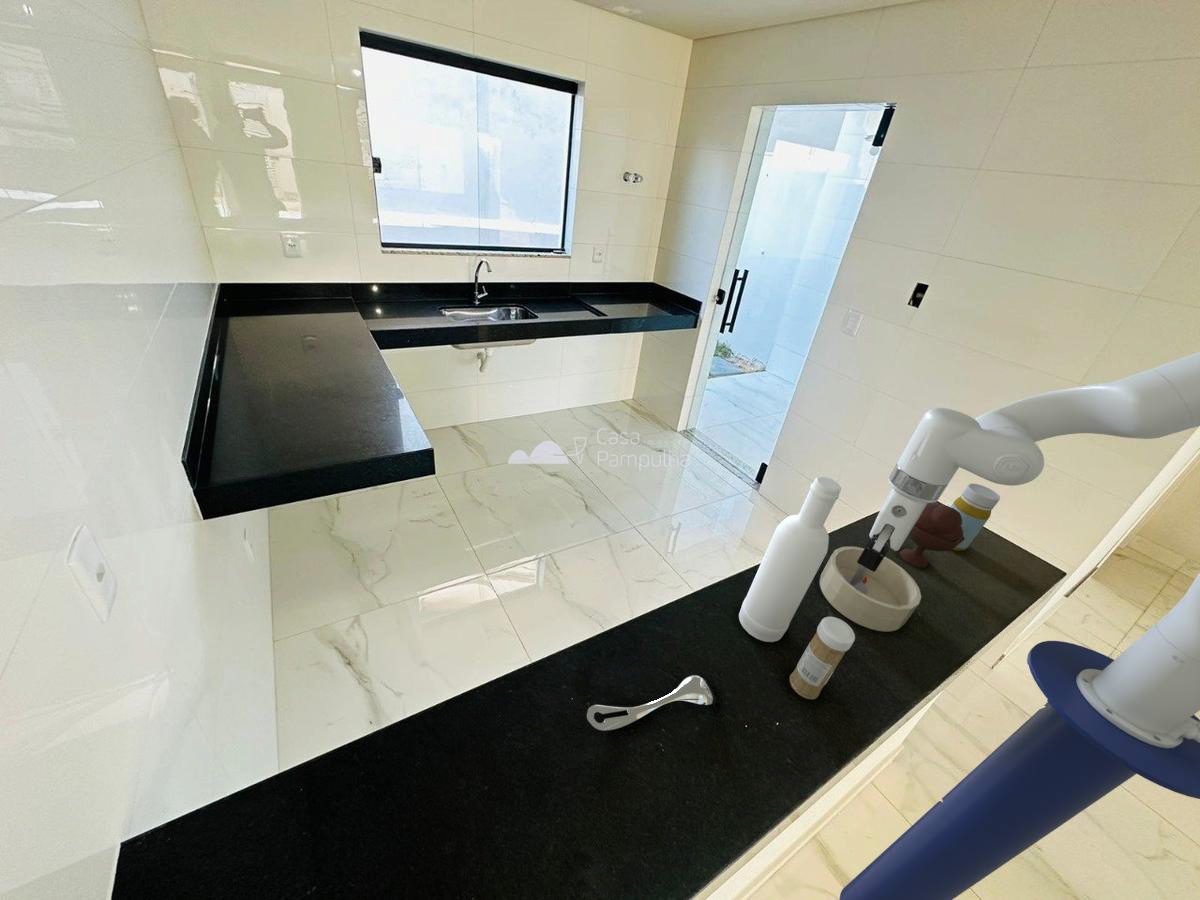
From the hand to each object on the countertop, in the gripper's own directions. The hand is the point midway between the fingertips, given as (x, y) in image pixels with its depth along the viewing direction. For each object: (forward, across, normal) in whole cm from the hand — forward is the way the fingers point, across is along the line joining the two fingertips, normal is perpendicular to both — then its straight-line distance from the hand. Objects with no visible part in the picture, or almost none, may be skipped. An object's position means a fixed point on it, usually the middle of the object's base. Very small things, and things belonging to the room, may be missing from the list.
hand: (867, 563), depth 85 cm
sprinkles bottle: (+9, -26, -1) cm, 27 cm away
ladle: (+8, 0, 0) cm, 8 cm away
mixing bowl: (+9, +2, -2) cm, 9 cm away
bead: (+7, +5, 0) cm, 9 cm away
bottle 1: (+9, -20, +9) cm, 24 cm away
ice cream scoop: (+9, -46, +13) cm, 49 cm away
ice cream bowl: (+9, +25, -7) cm, 28 cm away
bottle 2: (+9, +40, -12) cm, 43 cm away
